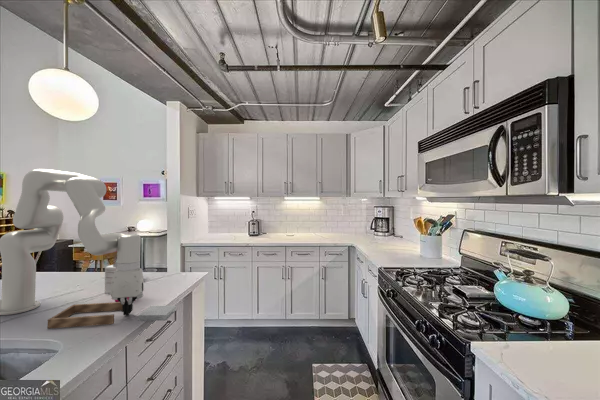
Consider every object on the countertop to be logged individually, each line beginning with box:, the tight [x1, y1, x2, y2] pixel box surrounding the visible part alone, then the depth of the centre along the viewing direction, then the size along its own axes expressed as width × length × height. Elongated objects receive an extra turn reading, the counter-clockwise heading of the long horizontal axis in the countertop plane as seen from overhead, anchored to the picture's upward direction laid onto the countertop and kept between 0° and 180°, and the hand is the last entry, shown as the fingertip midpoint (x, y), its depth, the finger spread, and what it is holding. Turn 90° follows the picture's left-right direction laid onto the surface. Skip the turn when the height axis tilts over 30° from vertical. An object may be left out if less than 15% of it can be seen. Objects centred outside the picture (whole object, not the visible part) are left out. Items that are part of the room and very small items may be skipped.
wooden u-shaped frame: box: [46, 301, 122, 329], centre depth 100 cm, size 20×14×3 cm
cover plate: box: [137, 305, 177, 322], centre depth 103 cm, size 10×9×2 cm
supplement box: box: [104, 264, 117, 294], centre depth 131 cm, size 7×7×13 cm
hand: (127, 313), depth 103 cm, fingers closed
